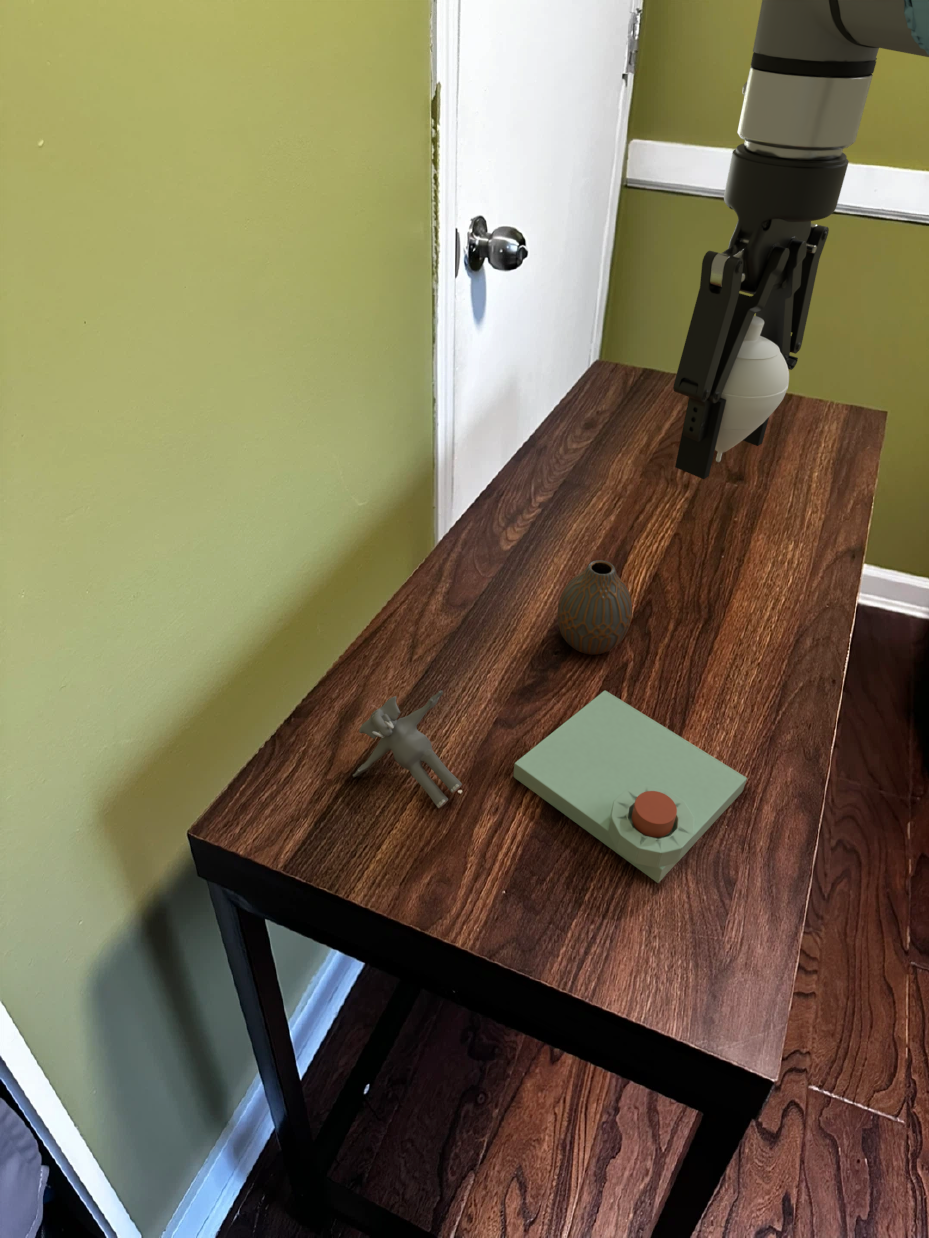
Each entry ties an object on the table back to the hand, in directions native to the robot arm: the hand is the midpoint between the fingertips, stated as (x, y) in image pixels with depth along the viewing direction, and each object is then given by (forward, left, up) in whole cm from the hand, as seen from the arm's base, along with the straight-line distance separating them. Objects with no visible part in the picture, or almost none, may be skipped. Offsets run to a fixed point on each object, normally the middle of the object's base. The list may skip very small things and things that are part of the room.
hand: (719, 454), depth 71 cm
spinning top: (0, 0, -1) cm, 1 cm away
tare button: (-12, +23, -17) cm, 31 cm away
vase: (+5, +7, -20) cm, 22 cm away
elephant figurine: (+5, +30, -20) cm, 36 cm away
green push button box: (-8, +19, -20) cm, 28 cm away
